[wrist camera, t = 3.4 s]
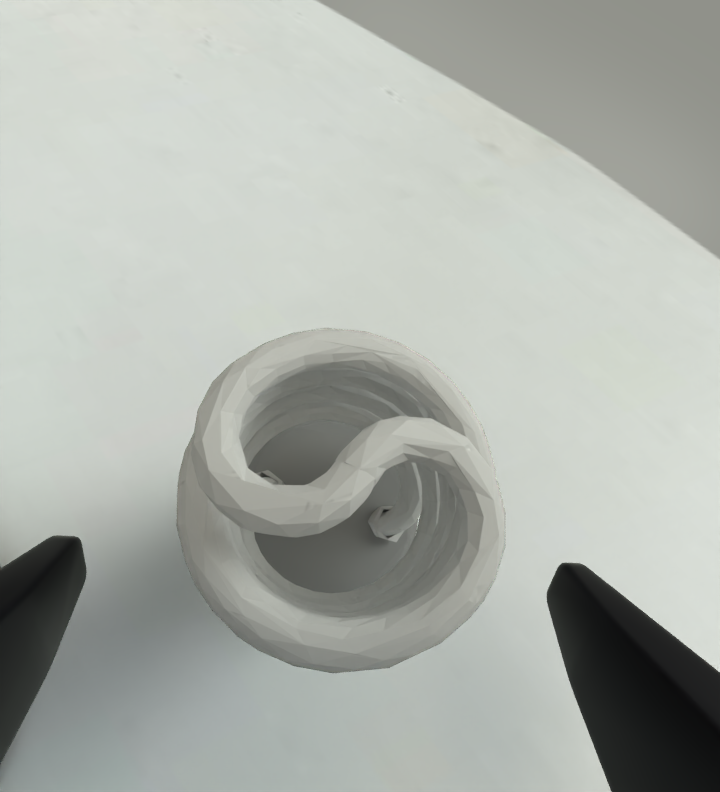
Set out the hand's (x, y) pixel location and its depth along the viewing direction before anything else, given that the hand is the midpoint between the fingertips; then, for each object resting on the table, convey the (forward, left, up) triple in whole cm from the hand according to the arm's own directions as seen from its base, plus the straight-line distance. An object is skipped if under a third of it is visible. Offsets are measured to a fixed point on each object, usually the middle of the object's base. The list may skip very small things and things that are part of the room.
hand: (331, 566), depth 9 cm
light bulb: (+1, +1, -9) cm, 9 cm away
